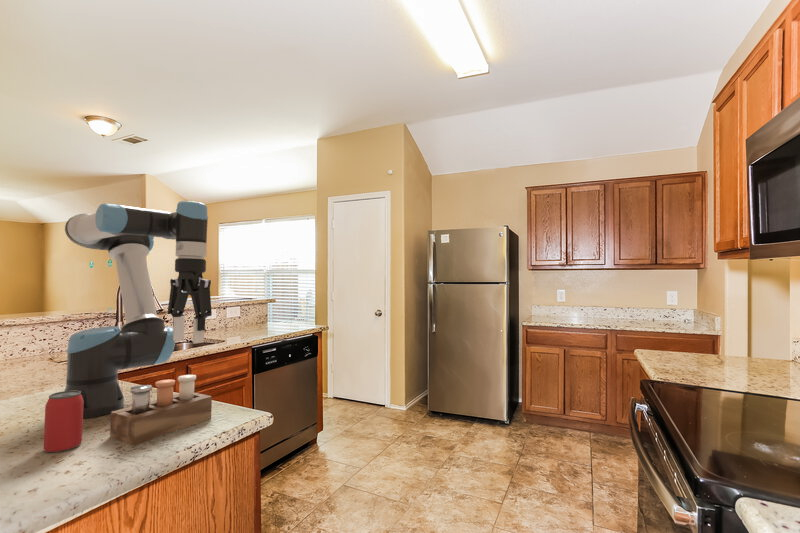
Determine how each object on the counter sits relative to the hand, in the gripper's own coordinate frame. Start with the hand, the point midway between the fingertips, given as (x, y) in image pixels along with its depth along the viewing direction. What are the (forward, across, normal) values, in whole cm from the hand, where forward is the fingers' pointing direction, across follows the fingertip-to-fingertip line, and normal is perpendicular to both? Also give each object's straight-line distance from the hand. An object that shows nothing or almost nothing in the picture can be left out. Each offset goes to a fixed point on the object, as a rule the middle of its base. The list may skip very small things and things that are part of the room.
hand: (188, 341), depth 107 cm
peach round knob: (+16, 0, -6) cm, 17 cm away
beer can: (+21, -8, -24) cm, 33 cm away
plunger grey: (+16, 0, -12) cm, 20 cm away
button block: (+21, 0, -6) cm, 22 cm away
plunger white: (+16, 0, 0) cm, 16 cm away
